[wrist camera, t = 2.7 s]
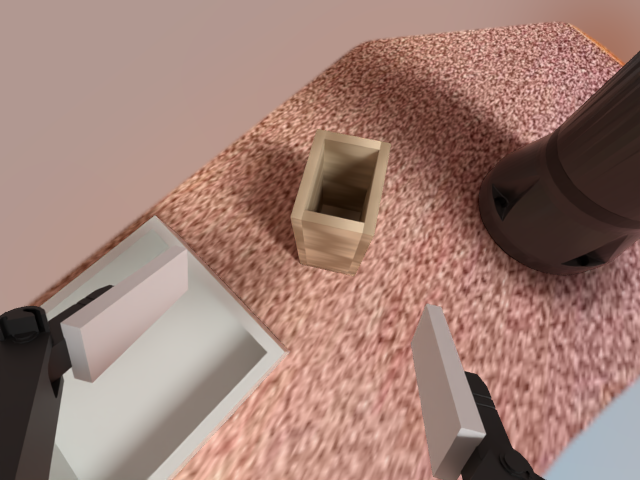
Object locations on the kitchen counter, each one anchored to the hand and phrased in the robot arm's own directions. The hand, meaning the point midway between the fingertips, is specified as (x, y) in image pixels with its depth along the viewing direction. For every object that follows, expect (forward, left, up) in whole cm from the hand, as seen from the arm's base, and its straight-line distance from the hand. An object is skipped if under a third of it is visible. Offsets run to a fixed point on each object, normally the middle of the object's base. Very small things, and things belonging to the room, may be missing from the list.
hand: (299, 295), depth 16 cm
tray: (+8, +13, -15) cm, 22 cm away
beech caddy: (+4, -9, -15) cm, 18 cm away
